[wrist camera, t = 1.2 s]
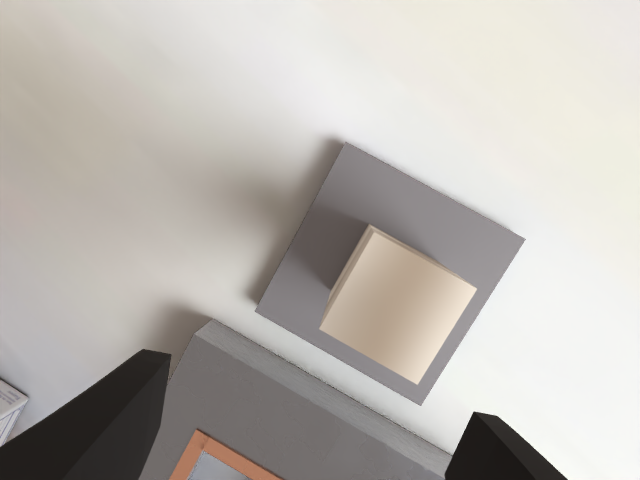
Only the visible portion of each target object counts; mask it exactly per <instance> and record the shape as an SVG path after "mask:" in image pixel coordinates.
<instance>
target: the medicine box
mask: <svg viewBox="0 0 640 480" xmlns="http://www.w3.org/2000/svg"><path fill="white" fill-rule="evenodd" d="M27 401H28V397H27V396H25V395H23V394H22V393H20V392H19V391H17V390H16V389H14V388H13V387H11V386H10V385H8V384H7V383H5V382H3V381H2V380H0V447H1V446H2V445H4V443H5V442H6V440H7V438H8V436H9V434H10V432H11V430H12V428H13V426H14V424H15V423H16V421H17V419H18V417H19V415H20V413H21V411H22V409H23V407H24V405H25V404H26V402H27Z"/></svg>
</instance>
